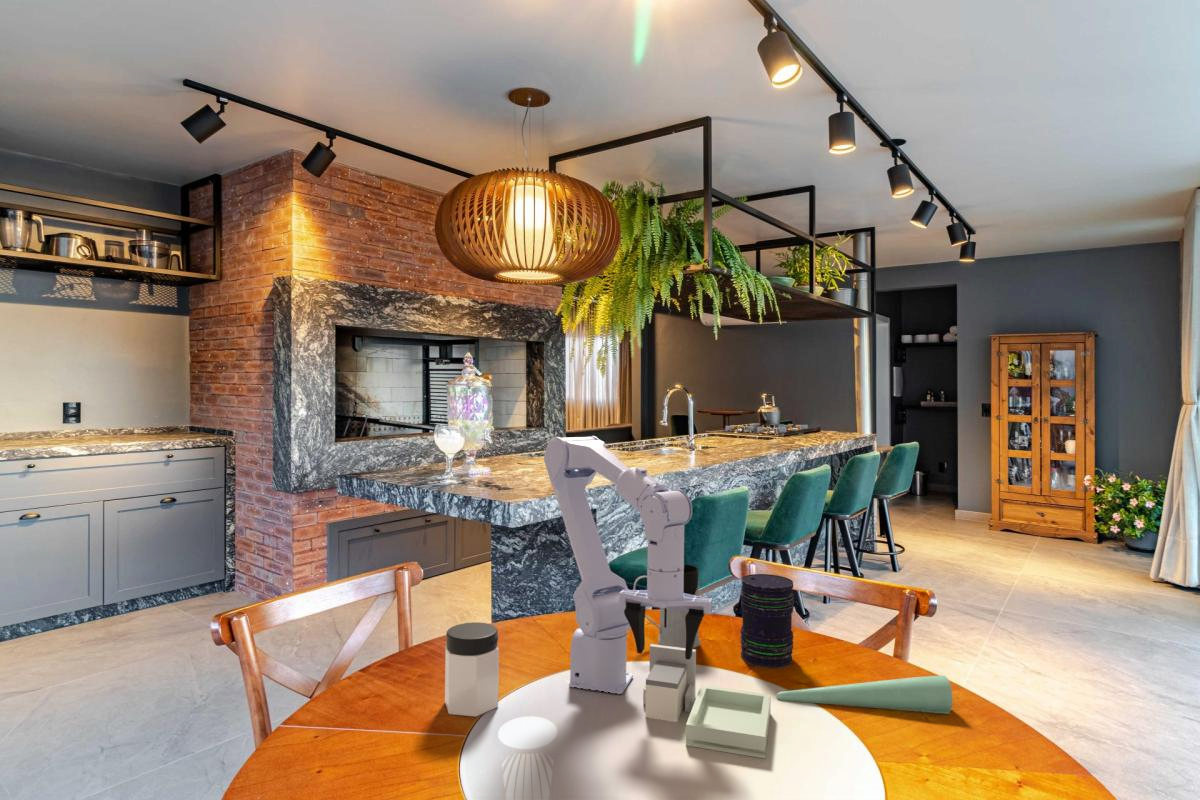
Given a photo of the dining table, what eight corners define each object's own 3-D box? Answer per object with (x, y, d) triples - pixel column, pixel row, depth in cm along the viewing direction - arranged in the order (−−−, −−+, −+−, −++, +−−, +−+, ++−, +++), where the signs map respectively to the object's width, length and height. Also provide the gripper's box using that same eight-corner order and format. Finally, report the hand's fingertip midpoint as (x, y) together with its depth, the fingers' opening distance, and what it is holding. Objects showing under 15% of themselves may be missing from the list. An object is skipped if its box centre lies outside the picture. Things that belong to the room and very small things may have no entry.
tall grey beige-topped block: (645, 717, 104) (645, 679, 104) (656, 696, 112) (656, 660, 112) (677, 722, 103) (677, 683, 103) (686, 700, 110) (686, 664, 110)
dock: (643, 704, 108) (643, 655, 108) (650, 691, 113) (651, 644, 113) (689, 711, 106) (690, 661, 106) (695, 697, 111) (695, 649, 111)
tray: (685, 745, 96) (686, 724, 96) (700, 703, 109) (701, 685, 109) (764, 758, 92) (765, 736, 92) (770, 713, 106) (770, 694, 106)
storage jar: (799, 655, 130) (800, 578, 130) (785, 672, 122) (786, 590, 122) (749, 645, 136) (750, 571, 136) (732, 661, 127) (733, 582, 127)
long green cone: (774, 661, 114) (940, 670, 111) (774, 693, 114) (939, 703, 111) (778, 673, 109) (953, 683, 105) (778, 707, 109) (952, 718, 105)
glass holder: (707, 647, 134) (707, 572, 134) (638, 652, 131) (639, 575, 131) (691, 632, 142) (692, 562, 142) (627, 636, 139) (628, 564, 139)
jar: (502, 713, 105) (503, 636, 105) (449, 721, 102) (450, 642, 102) (491, 690, 113) (492, 619, 113) (442, 696, 110) (443, 624, 110)
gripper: (614, 569, 104) (613, 657, 104) (708, 578, 99) (706, 669, 99) (626, 559, 110) (625, 641, 110) (714, 566, 106) (713, 652, 106)
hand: (664, 654), depth 105 cm, fingers open, 7 cm apart
